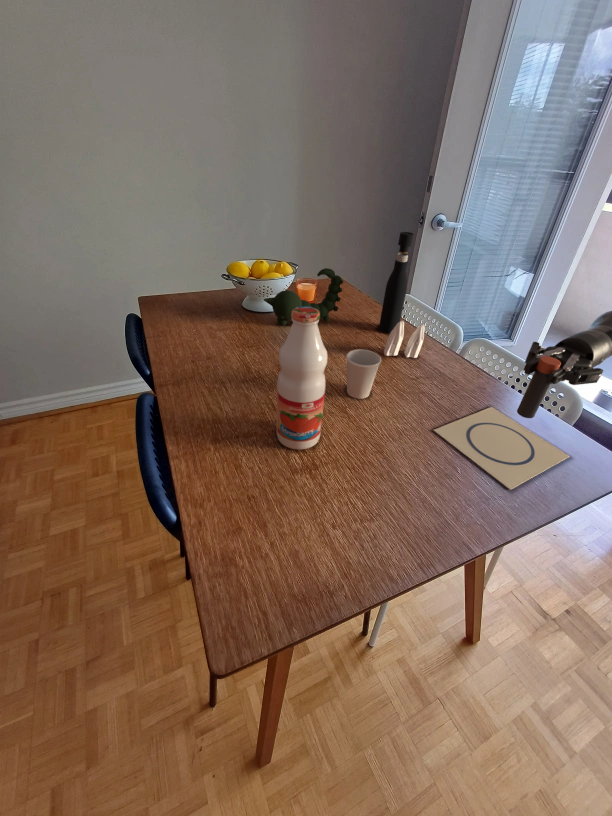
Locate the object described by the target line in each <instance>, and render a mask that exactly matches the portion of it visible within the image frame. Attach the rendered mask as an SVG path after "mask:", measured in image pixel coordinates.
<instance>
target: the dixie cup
mask: <svg viewBox="0 0 612 816" xmlns="http://www.w3.org/2000/svg"><path fill="white" fill-rule="evenodd" d="M345 359H346V393H347V395H348V396H349V397H351V398H354V399H357V400H358V399H360V400H361V399H366V398H368V397H369V396H370V394H371V391H372V388H373V385H374V382H375V379H376V376H377V373H378V370H379V367H380V364H381V363H382V357H381V355H379V354H378V353H376V352H375V351H372V350H369V349H362V348H360V349H359V348H358V349H352V350H350V351H348V352H347V353H346V355H345Z"/></svg>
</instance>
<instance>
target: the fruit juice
mask: <svg viewBox="0 0 612 816" xmlns="http://www.w3.org/2000/svg"><path fill="white" fill-rule="evenodd" d="M291 317H292V318H291V319H292V320H291V322H292V323H291V326H290V329H289V331H288V334H287V336H286V338H285V340H284V342H283V343H282V344H281V346H280V348H279V351H278V364H279V368H280V371H279V372H278V375H277V382H276V423H275V424H276V426H275V428H276V429H275V431H276V437H277V440H278V441H279V443H280V444H281V445H283V446H284V447H286V448H288V449H292V450H307V449H310V448H312V447H314V446H315V445H316V444H317V443H318V442H319V440H320V438H321V434H322V433H321V432H322V424H323V414H324V405H325V395H326V383H327V381H326V374H325V369H326V367H327V364H328V356H329V355H328V351H327V349H326V347H325V344H324V343H323V339H322V336H321V332H320V329H319V321H320V313H319V311H318V310H317V309H315V308H313V307H307V306H301V307H296V308H294V309H293V310H292V313H291ZM317 323H318V324H317Z"/></svg>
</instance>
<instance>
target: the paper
mask: <svg viewBox="0 0 612 816" xmlns="http://www.w3.org/2000/svg"><path fill="white" fill-rule="evenodd" d="M432 431H433V432H434V433H436V434H437V435H438V436H439V437H441V438H442V439H443V440H445V441H446V442H447V443H449V444H450V445H451V446H452V447H454V448H455V449H457V450H458V451H459V452H460V453H461V454H463V455H464V456H465V457H467V458H468V459H469V460H470V461H472V462H473V463H475V465H477V466H479V468H480V469H482V470H484V471H485V472H486V473H487V474H489V475H490V476H491V477H493V478H494V479H495V480H496V481H497V482H499V483H500V484H502V486H504V487H505V488H507V489H508V490H509V491H511V490H513V489H515V488H517V487H518V486H520V485H522V484H524V483H525V482H527V481H529V480H531V479H532V478H534V477H536V476H538V475H539V474H541V473H543V472H545V471H547V470H549V469H550V468H552V467H555V466H556V465H558V464H559V463H562V462H563V461H565V460H566V459H568V458H570V455H569V454H567V453H566V452H564V451H562V450H561V449H559V448H558V447H556V446H555V445H553V444H552V443H550V442H548V441H546V440H545V439H543V437H541V436H539V435H537V434H536V433H534V432H533V431H531V430H529V429H528V428H526V427H525V426H523V425H521V424H520V423H518V422H517V421H515V420H513V419H512V418H510V417H509V416H507V415H506V414H504V413H503V412H501V411H499V410H497V408H494V407H493V406H490V407H488V408H485V409H483V410H480V411H478V412H475V413H472V414H470V415H467V416H465V417H463V418H460V419H457V420H454V421H452V422H450V423H447V424H444V425H442V426H439V427H437V428H435V429H433V430H432Z"/></svg>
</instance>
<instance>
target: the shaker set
mask: <svg viewBox="0 0 612 816" xmlns="http://www.w3.org/2000/svg"><path fill="white" fill-rule="evenodd" d="M404 321H405V320H400V322H398V324H397V325H396V326H395V327H394V329H393V330H392V332H391V333H390V334H389V335H388V338H387V340H386V343H385V346H384V349H383V352H384V353H383V355H384V357H392V356H393V357H395V356H398V354H399V351H400V349H401V345H402V343H403V339H404V333H405V322H404ZM424 339H425V324H424V323H422V324H419V325H418V326H417V328H416V329H415V330H414V331H413V333H412V334H411V335H410V337H409V339H408V342H407V344H406V346H405V349H404V352H403V353H404V357H406V358H412V359H416V358H418V356H419V354H420V351H421V349H422V346H423V343H424Z"/></svg>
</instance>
